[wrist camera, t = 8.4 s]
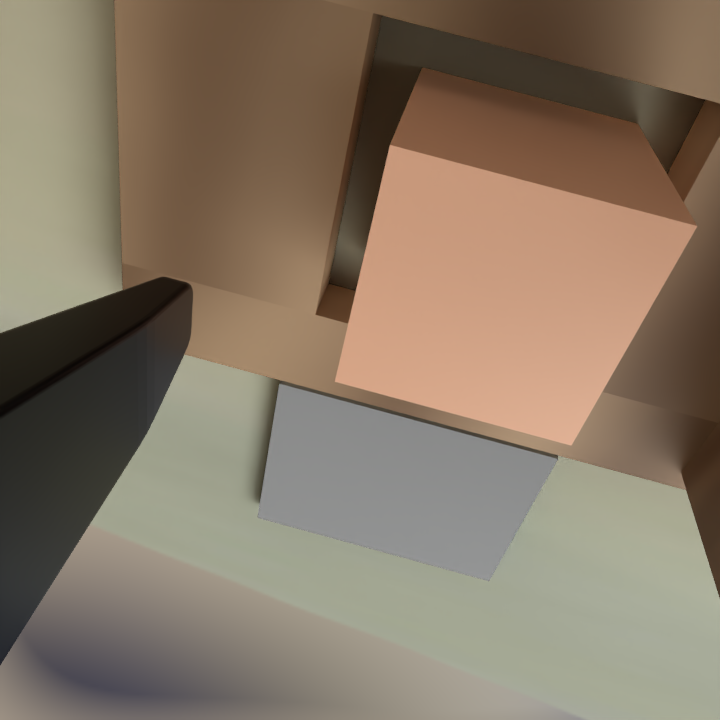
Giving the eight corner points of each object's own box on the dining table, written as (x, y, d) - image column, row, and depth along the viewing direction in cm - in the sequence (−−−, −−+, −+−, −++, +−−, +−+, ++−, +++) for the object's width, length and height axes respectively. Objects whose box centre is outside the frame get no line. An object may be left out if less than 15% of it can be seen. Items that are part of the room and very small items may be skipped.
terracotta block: (637, 123, 13) (697, 226, 9) (552, 305, 16) (571, 446, 12) (422, 66, 13) (390, 145, 9) (375, 257, 16) (334, 382, 12)
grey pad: (556, 446, 18) (558, 459, 18) (489, 568, 22) (488, 581, 22) (284, 372, 18) (279, 383, 18) (262, 506, 22) (257, 517, 22)
